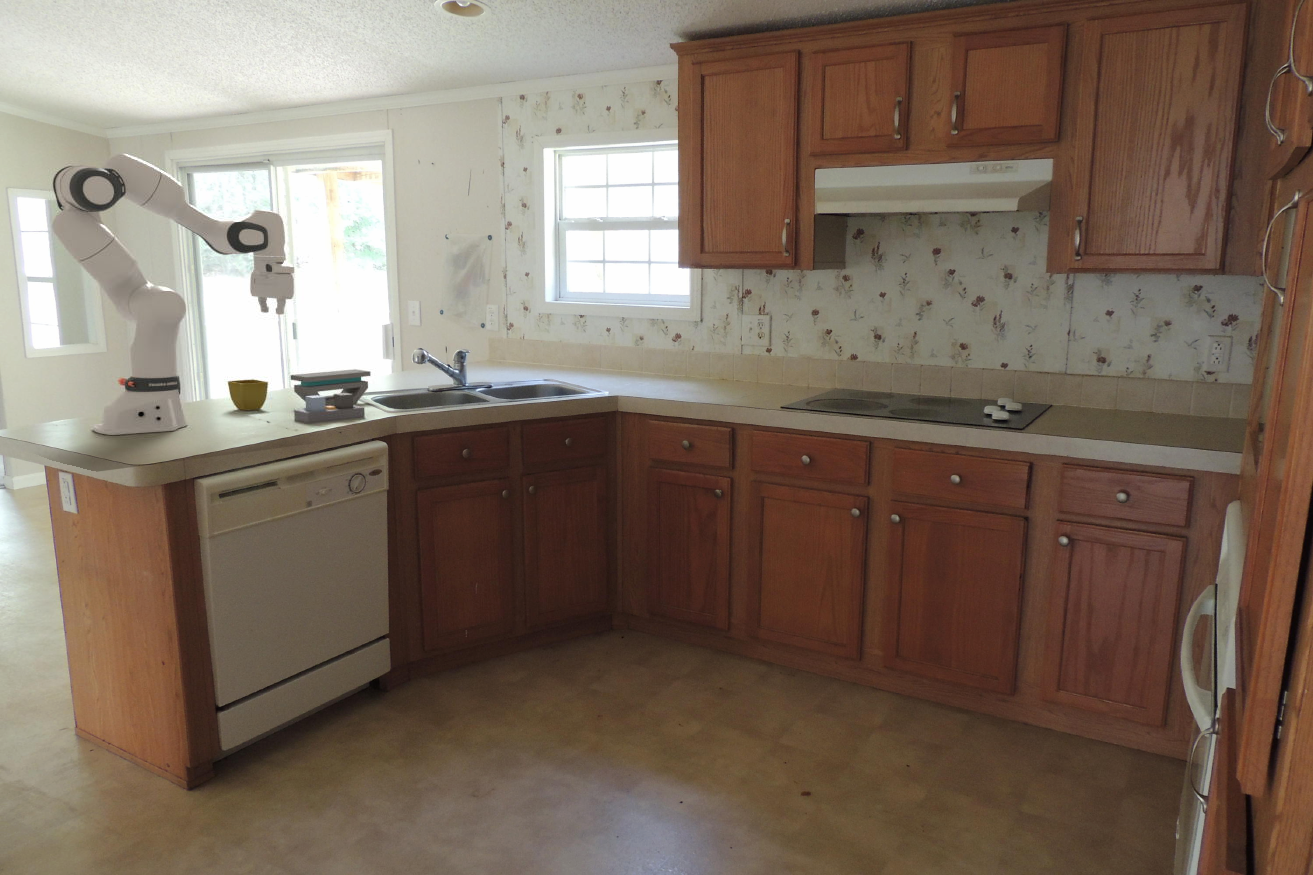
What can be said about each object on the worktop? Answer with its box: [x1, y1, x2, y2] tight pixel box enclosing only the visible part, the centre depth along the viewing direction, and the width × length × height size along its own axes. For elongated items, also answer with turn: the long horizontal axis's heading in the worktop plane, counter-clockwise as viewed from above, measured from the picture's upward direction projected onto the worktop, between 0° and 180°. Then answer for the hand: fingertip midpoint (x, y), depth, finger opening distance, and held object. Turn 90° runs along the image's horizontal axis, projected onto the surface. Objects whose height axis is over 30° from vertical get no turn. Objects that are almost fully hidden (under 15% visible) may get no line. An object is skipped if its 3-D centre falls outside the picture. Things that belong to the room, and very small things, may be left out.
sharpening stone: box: [290, 368, 372, 406], centre depth 293 cm, size 25×8×11 cm, turn 147°
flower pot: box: [227, 378, 269, 412], centre depth 280 cm, size 9×9×9 cm
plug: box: [305, 394, 326, 412], centre depth 261 cm, size 4×4×7 cm
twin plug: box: [333, 392, 353, 409], centre depth 267 cm, size 4×4×7 cm
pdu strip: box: [293, 404, 366, 425], centre depth 264 cm, size 18×8×5 cm, turn 139°
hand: (272, 313), depth 266 cm, fingers open, 8 cm apart
